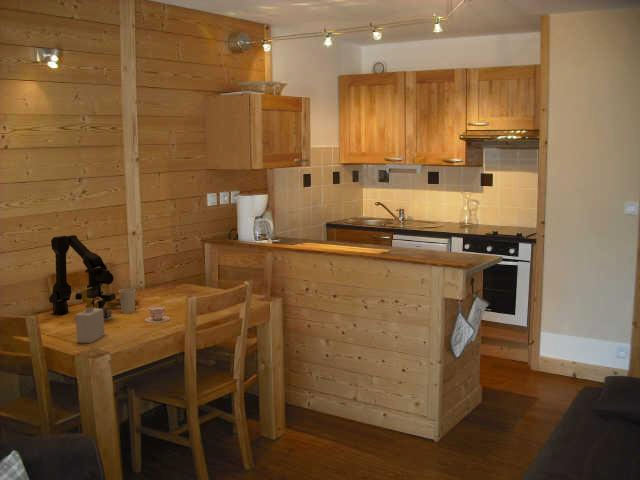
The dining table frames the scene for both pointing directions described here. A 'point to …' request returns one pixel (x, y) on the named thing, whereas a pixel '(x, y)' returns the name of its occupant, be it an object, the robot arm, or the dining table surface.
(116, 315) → the board
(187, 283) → the dining table surface
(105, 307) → the rail
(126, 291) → the cup
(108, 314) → the bracket far
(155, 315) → the teacup
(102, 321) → the soap bottle
